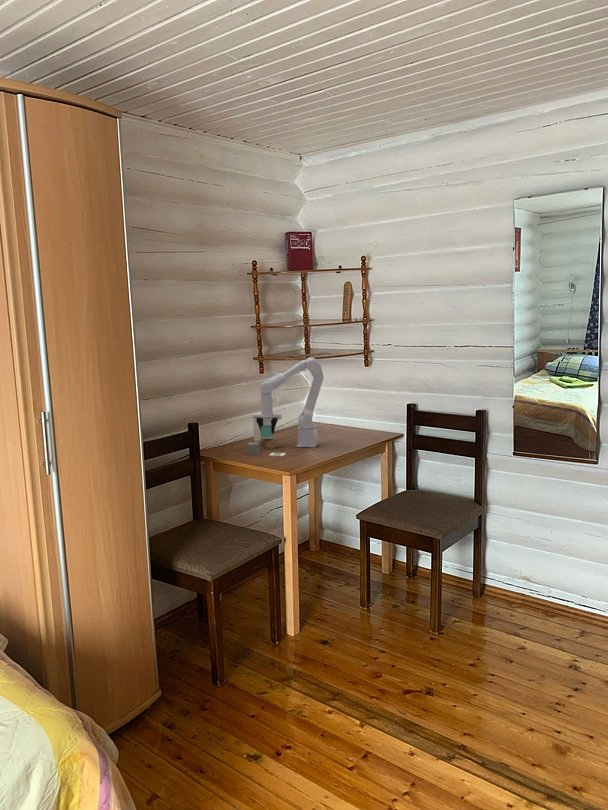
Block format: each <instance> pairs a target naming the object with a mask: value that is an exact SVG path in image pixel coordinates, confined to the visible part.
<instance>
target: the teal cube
mask: <svg viewBox="0 0 608 810" xmlns="http://www.w3.org/2000/svg"><path fill="white" fill-rule="evenodd" d="M274 434H275V432H274V433H273V434H272V426H271V425H263V426H262V427H261V437H272V438H273V437H274Z"/></svg>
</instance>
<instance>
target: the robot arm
mask: <svg viewBox="0 0 608 810" xmlns="http://www.w3.org/2000/svg"><path fill="white" fill-rule="evenodd" d="M307 371H309V372H310V374H311V376H312V377H313V379H312V382H311V385H310V388H309V392H308V394H307V398H306V402H305V404H304V407H303V409H302V412H301V414H300V415H299V416H298V424H299V426H298V427H297V431H298V432H297V433H298V437H297V438H298V443H297V445H296V447H298V448H316V447H317V446H318V444H319V442H318V436H319V435H318V428H314V427H313V426H312V425H313V417H314V410H315V408H316V404H317V400H318V398H319V394H320V392H321V391H320V390H321V389H322V388H321V387H322V384H323V381H324V378H325V376H324V373H323V369H322V364H320V362H319V361H318V360H317V359H316V358H315V357H313V356H309V357H307V358H306V359H303V360H301V361H299V362H297V363H296V364H295V365H293V366H292V367H290V368H289V369H287V370H286V371H284V372H283V373H281V372H275V373H274V375H273V376H272V377H269V378H267V379H266V381H263V382H262V383H260V385H259V386H260V387H259V389H260V413H261V414H258V413H254V414H252V417H251V418H252V419H257V420H256V422H257V423H258V425H259V428H260V431H261V427H262V426H263V419H272V420H271V426H272V434H273V433H274V434H275V430H276V425H277V423H278V421H279V420H282V418H283V415H282V414H275V413H274V411H273V396H272V395H273V393H272V392H273V390H276V389H278V388H279V387H281V386H282V385H284V384H286V382H287V380H288V379H289V378H290V377H292V376H294V375H296V374H297V373H299V372H307ZM268 417H270V418H268Z"/></svg>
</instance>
